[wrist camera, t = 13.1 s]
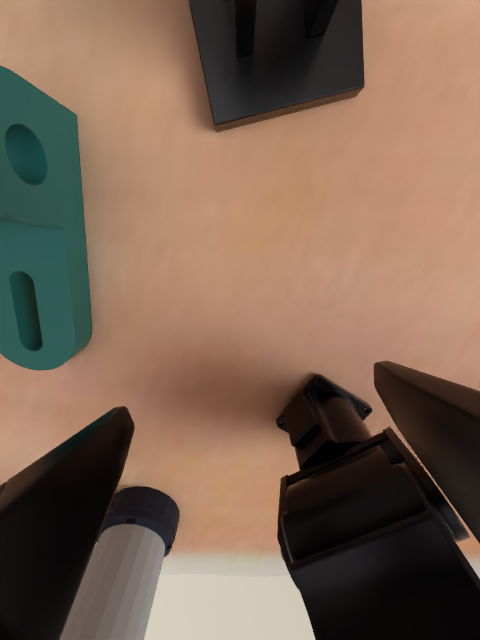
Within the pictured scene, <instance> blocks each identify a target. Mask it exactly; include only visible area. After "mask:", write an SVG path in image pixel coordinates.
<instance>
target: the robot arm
mask: <svg viewBox="0 0 480 640" xmlns="http://www.w3.org/2000/svg"><path fill="white" fill-rule="evenodd" d="M317 380H321V381H319V382H317ZM374 385H375V388H376V390H377V392H378V394H379V396H380V398H381V399H382V401H383V403H384V405H385V406H386V408H387V410H388V412H389V414H390V415H391V417H392V419H393V421H394V422H395V424H396V426H397V427H398V429H399V431H400V432H401V434H402V435H403V437H404V438H405V439H406V441H407V442H408V444H409V445H410V446H411V448H412V449H413V451H414V452H415V453H416V455H417V456H418V458H419V459H420V460H421V462H422V463H423V465H424V466H425V467H426V469H427V470H428V472H429V473H430V474H431V476H432V477H433V479H434V480H435V481H436V483H437V484H438V486H439V487H440V488H441V490H442V491H443V493H444V494H445V495H446V497H447V498H448V500H449V501H450V502H451V504H452V505H453V507H454V508H455V509H456V511H457V512H458V514H459V515H460V516H461V518H462V519H463V521H464V522H465V523H466V525H467V526H468V528H469V529H470V530H471V532H472V533H473V535H474V536H475V537H476V539H477V540H478V542H479V543H480V391H478V390H475V389H472V388H468V387H465V386H462V385H459V384H456V383H453V382H450V381H447V380H444V379H441V378H438V377H435V376H432V375H429V374H426V373H423V372H420V371H417V370H414V369H411V368H408V367H405V366H402V365H399V364H396V363H393V362H390V361H381V362H376V363H375V364H374ZM366 408H367V409H366ZM364 409H366V410H364ZM371 412H372V408H371V407H370V405H369V404H367V403H366V402H364V401H362V400H361V399H359V398H358V397H356V396H354V395H353V394H351V393H349V392H348V391H346V390H344V389H343V388H341V387H340V386H338V385H336V384H335V383H333V382H331V381H330V380H328V379H327V378H325V377H323V376H322V375H315V376H314V377H313V378H312V379H311V380H310V382H309V383H308V384H307V385H306V386H305V387H304V388H303V390H301V391H299V392H298V394H297V395H296V396H295V397H294V398H293V399H292V401H291V402H290V403H289V404H288V405H287V406H286V407H285V409H284V411H283V412H282V414H281V415H280V416H279V417H278V418H277V420H276V425H277V427H279V428H280V429H282V430H284V431H286V432H288V433H289V436H290V440H291V445H292V446H293V447H295V452H296V456H297V460H298V464H299V469H300V471H298V472H296V473H294V474H292V475H290V476H288V475H286V476H284V477H282V478H281V485H280V498H279V512H278V533H277V538H278V542H279V544H280V547H281V555H282V558H283V560H284V561H285V563H286V566H287V569H288V571H289V573H290V575H291V578H292V579H293V581H294V583H295V585H296V586H297V588H298V589H299V590H300V592H301V595H302V598H303V601H304V604H305V607H306V610H307V612H308V615H309V618H310V622H311V625H312V629H313V632H314V635H315V639H316V640H480V579H479V577H478V576H477V574H476V573H475V571H474V570H473V568H472V567H471V565H470V564H469V562H468V561H467V559H466V558H465V556H464V555H463V553H462V552H461V550H460V549H459V547H458V546H457V544H456V542H459V541H462V540H465V539H468V538H470V536H469V534H468V532H467V531H466V529H465V527H464V526H463V524H462V523H461V521H460V520H459V518H458V517H457V515H456V514H455V512H454V511H453V509H452V508H451V506H450V505H449V503H448V502H447V500H446V499H445V497H444V496H443V495H442V493H441V492H440V490H439V489H438V488H437V486H436V485H435V483H434V482H433V481H432V479H431V478H430V477H429V475H428V474H427V473H426V471H425V470H424V469H423V467H422V466H421V465H420V463H419V462H418V461H417V460H416V459H415V457H414V456H413V455H412V454H411V452H410V451H409V450H408V449H407V447H406V446H405V445H404V444H403V443H402V441H401V440H400V439H399V438H398V436H397V435H396V434H395V433H394V431H393V430H392V429H391V428H390V427H389V428H386V429H384V430H383V432H382V433H380V434H378V435H375V436H372V435H371V433H370V432H369V430H368V428H367V427H366V425H365V424H364V422H363V420H364V419H365V418H366V417H367V416H368V415H369V414H370V413H371ZM280 422H283V423H280ZM133 433H134V422H133V420H132V418H131V415H130V413H129V411H128V409H127V408H126V407H125V406H122V407H116V408H113V409H112V410H110V411H109V412H107V413H106V414H104V415H103V416H101V417H100V418H98V419H97V420H95V421H94V422H92V423H91V424H90V425H88V426H87V427H85V428H84V429H82V430H81V431H79V432H78V433H76V434H75V435H73V436H72V437H71V438H69V439H68V440H66V441H65V442H63V443H62V444H60V445H59V446H57V447H56V448H54V449H53V450H51V451H50V452H49V453H47V454H46V455H44V456H43V457H41V458H40V459H38V460H37V461H35V462H34V463H32V464H31V465H30V466H28V467H27V468H25V469H24V470H22V471H21V472H19V473H18V474H16V475H15V476H13V477H12V478H10V479H9V480H8V481H7V482H5V483H3V484H2V485H0V640H60V638H61V635H62V632H63V630H64V627H65V624H66V622H67V619H68V616H69V614H70V611H71V608H72V606H73V603H74V600H75V598H76V595H77V592H78V590H79V587H80V584H81V582H82V579H83V576H84V574H85V571H86V568H87V566H88V563H89V560H90V558H91V555H92V552H93V550H94V547H95V544H96V542H97V539H98V537H99V534H100V531H101V529H102V526H103V523H104V521H105V518H106V515H107V513H108V510H109V507H110V505H111V502H112V499H113V497H114V494H115V491H116V489H117V486H118V483H119V481H120V478H121V475H122V472H123V469H124V466H125V462H126V459H127V455H128V451H129V448H130V444H131V440H132V437H133Z"/></svg>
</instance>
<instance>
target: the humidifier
mask: <svg viewBox="0 0 480 640" xmlns="http://www.w3.org/2000/svg"><path fill="white" fill-rule="evenodd" d="M178 522H179V509H178V507H177V505H176V503H175V502H174V501H173V500H172V499H171V498H170V497H169V496H168V495H166V494H164V493H162V492H161V491H158V490H155V489H151V488H148V487H132V488H126V489H123V490H121V491H119V492H117V493H116V494H115V495H114V497H113V499H112V502H111V505H110V507H109V510H108V513H107V515H106V518H105V521H104V523H103V526H102V529H101V531H100V534H99V537H98V539H97V544H96V546H95V549H94V551H93V553H92V555H91V558H90V560H89V563H88V566H87V568H86V571H85V574H84V576H83V579H82V582H81V584H80V587H79V590H78V592H77V595H76V598H75V600H74V603H73V606H72V608H71V611H70V614H69V616H68V619H67V622H66V624H65V627H64V630H63V632H62V635H61V638H60V640H144V636H145V632H146V628H147V624H148V620H149V616H150V611H151V608H152V603H153V599H154V595H155V591H156V587H157V583H158V578H159V574H160V570H161V566H162V562H163V558H164V557H165V556H167V555H168V554H169V552H170V550H171V548H172V544H173V542H174V540H175V536H176V531H177V527H178Z"/></svg>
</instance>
